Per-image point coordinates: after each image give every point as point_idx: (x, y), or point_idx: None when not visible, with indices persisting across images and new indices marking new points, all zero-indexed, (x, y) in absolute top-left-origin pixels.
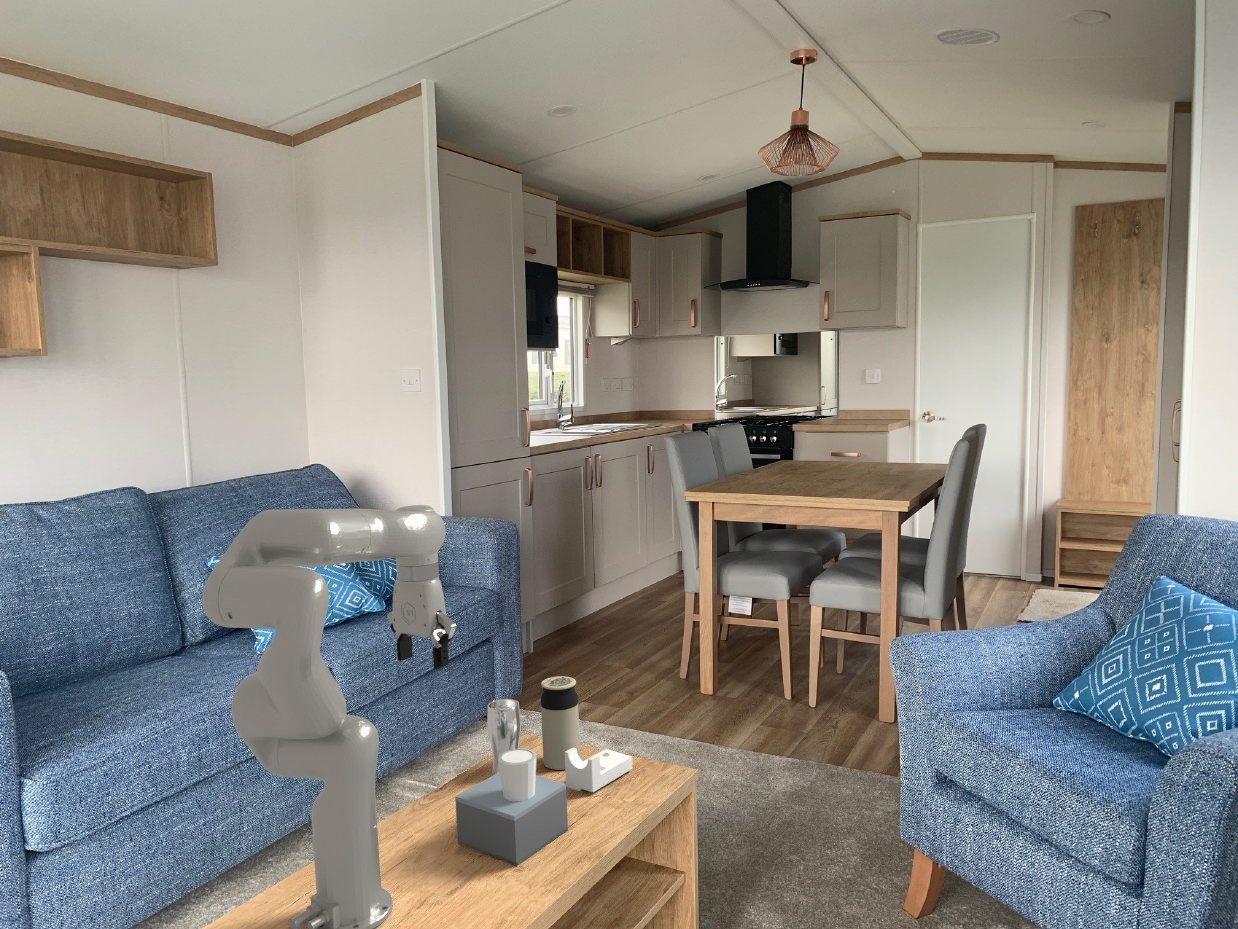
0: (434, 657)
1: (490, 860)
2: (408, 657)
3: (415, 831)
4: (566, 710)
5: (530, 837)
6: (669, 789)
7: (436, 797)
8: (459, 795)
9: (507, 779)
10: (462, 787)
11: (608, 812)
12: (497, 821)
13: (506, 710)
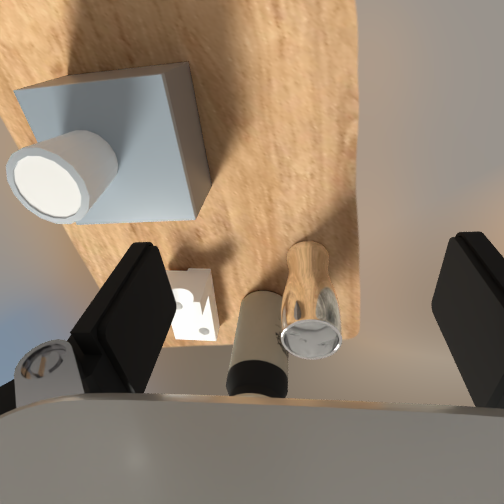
0: (113, 282)
1: (108, 60)
2: (438, 286)
3: (284, 40)
4: (230, 367)
5: None
6: None
7: (348, 150)
8: (158, 83)
9: (48, 139)
10: (334, 197)
11: (118, 248)
12: (64, 82)
13: (285, 327)
